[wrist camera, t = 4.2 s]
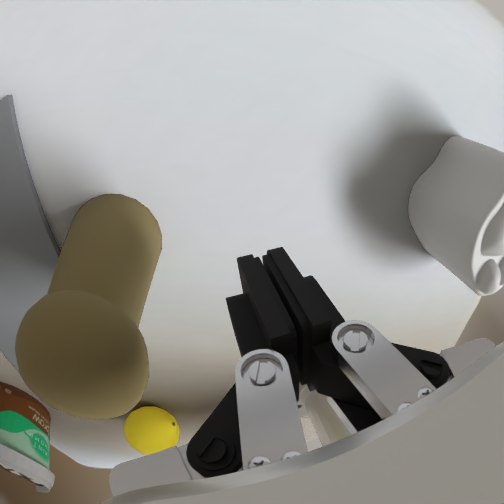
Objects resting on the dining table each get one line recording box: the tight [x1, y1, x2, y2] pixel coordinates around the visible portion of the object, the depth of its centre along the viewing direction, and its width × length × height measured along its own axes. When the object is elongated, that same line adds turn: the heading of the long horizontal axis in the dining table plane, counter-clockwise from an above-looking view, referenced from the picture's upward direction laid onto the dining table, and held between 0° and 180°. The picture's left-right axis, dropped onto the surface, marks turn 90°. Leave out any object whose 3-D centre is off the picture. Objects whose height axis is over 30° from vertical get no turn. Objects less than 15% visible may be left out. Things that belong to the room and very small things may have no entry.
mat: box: [0, 95, 60, 373], centre depth 15 cm, size 12×22×1 cm, turn 7°
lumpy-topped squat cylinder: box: [408, 136, 504, 296], centre depth 18 cm, size 10×13×9 cm
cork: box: [15, 194, 162, 420], centre depth 12 cm, size 6×6×11 cm
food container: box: [0, 382, 55, 492], centre depth 18 cm, size 12×6×10 cm, turn 7°
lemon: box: [124, 406, 180, 455], centre depth 23 cm, size 7×5×5 cm
